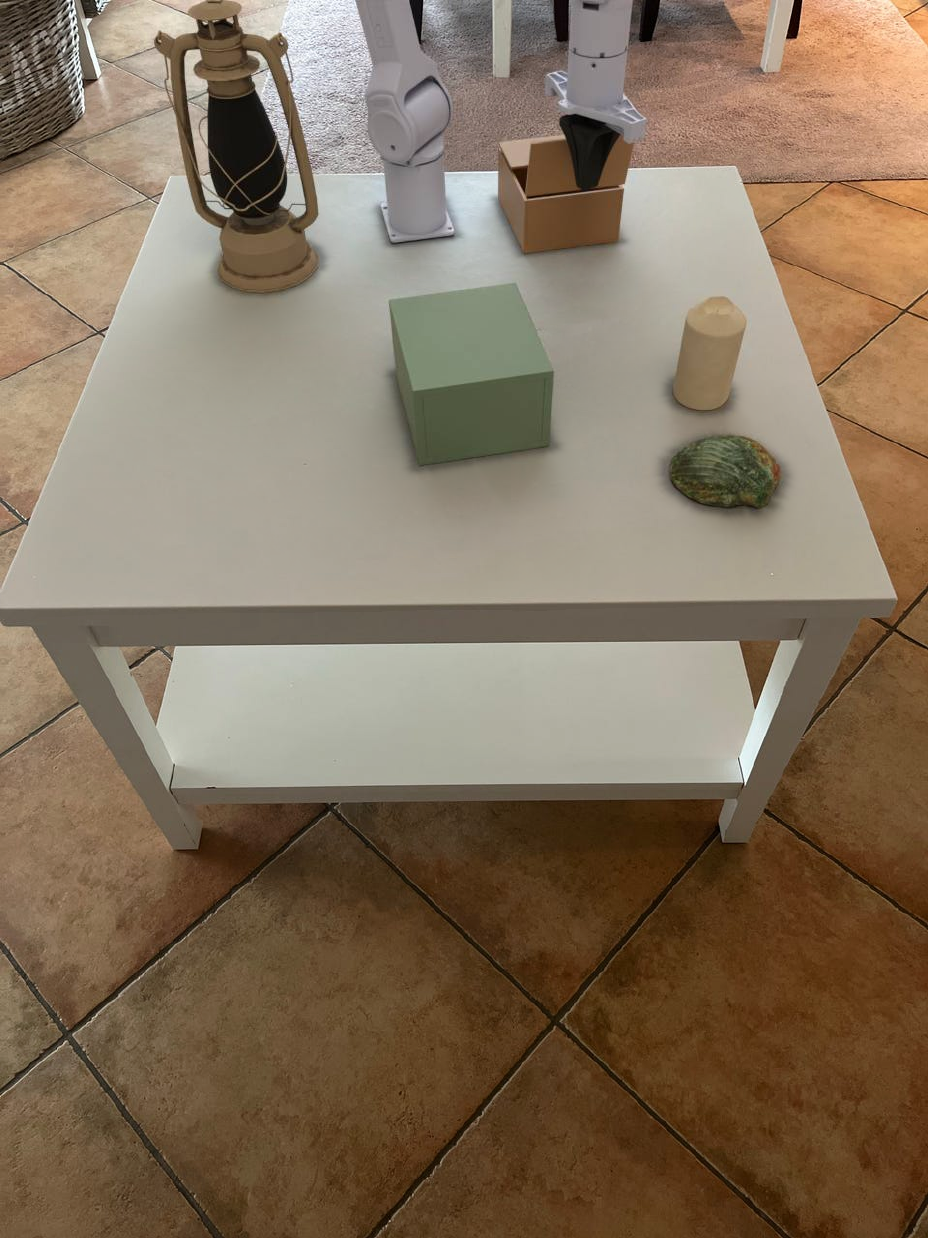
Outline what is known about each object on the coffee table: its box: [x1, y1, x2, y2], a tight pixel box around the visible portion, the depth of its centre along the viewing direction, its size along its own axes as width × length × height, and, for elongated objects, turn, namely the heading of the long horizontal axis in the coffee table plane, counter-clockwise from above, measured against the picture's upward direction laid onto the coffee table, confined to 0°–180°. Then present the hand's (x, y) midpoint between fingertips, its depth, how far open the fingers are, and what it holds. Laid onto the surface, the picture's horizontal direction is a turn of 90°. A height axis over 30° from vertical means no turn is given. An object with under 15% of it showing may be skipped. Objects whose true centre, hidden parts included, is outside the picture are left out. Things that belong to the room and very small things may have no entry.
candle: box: [672, 295, 748, 411], centre depth 87 cm, size 6×6×10 cm
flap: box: [525, 135, 635, 196], centre depth 101 cm, size 7×12×1 cm
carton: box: [497, 134, 625, 255], centre depth 111 cm, size 14×12×7 cm
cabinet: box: [388, 282, 555, 467], centre depth 88 cm, size 15×13×9 cm
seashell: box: [668, 433, 782, 509], centre depth 82 cm, size 10×4×10 cm
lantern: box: [153, 0, 320, 294], centre depth 97 cm, size 15×12×30 cm
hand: (587, 185), depth 100 cm, fingers closed
